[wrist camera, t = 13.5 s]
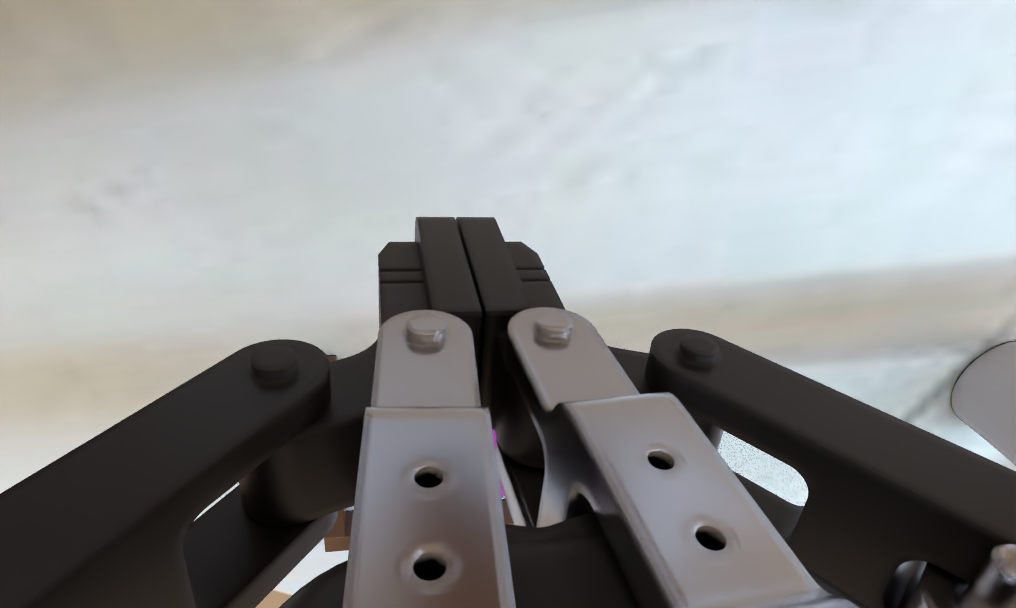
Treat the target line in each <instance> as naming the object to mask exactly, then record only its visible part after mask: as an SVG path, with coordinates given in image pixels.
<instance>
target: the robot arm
mask: <svg viewBox="0 0 1016 608" xmlns="http://www.w3.org/2000/svg"><path fill="white" fill-rule="evenodd" d="M378 266H379V332H378V339H377V340H376V342H375V343H374V344H373V345H372V346H370V347H369V348H367V349H366V350H364V351H362V352H360V353H359V354H356V355H353V356H351V357H347V358H344V359H340V360H336V361H332V362H329V360H328V358H327V356H326V354H325V353H324V352H323V351H322V350H320V349H319V348H318V347H316V346H314V345H312V344H309V343H306V342H302V341H297V340H269V341H264V342H259V343H256V344H252V345H250V346H247V347H245V348H243V349H241V350H239V351H237V352H235V353H233V354H232V355H230V356H229V357H227V358H225V359H224V360H222V361H220V362H219V363H217V364H215V365H214V366H212V367H210V368H209V369H207V370H205V371H204V372H202V373H200V374H199V375H197V376H195V377H194V378H192V379H190V380H189V381H187V382H185V383H184V384H182V385H180V386H179V387H177V388H175V389H174V390H172V391H170V392H169V393H167V394H165V395H164V396H162V397H160V398H159V399H157V400H155V401H154V402H152V403H150V404H149V405H147V406H145V407H144V408H142V409H140V410H139V411H137V412H135V413H134V414H132V415H130V416H129V417H127V418H125V419H124V420H122V421H120V422H119V423H117V424H115V425H114V426H112V427H110V428H109V429H107V430H106V431H104V432H102V433H101V434H99V435H97V436H96V437H94V438H92V439H91V440H89V441H87V442H86V443H84V444H82V445H81V446H79V447H77V448H76V449H74V450H72V451H71V452H69V453H67V454H66V455H64V456H62V457H61V458H59V459H57V460H56V461H54V462H52V463H51V464H49V465H47V466H46V467H44V468H42V469H41V470H39V471H37V472H36V473H34V474H32V475H31V476H29V477H27V478H26V479H24V480H22V481H21V482H19V483H17V484H16V485H14V486H12V487H11V488H9V489H7V490H6V491H4V492H2V493H1V494H0V608H255V607H256V606H257V605H258V604H259V603H260V602H261V601H262V600H263V599H264V598H265V597H266V596H267V595H268V594H269V593H270V592H271V591H272V590H273V589H274V588H275V587H276V586H277V585H278V584H279V583H280V582H281V581H282V580H283V579H284V578H285V577H286V576H287V575H288V574H289V572H290V571H291V570H292V569H293V568H294V567H295V566H296V565H297V564H298V563H299V562H300V561H301V560H302V559H303V558H304V557H305V556H306V555H307V554H308V553H309V552H310V551H311V550H312V549H313V548H314V547H315V546H316V545H317V544H318V543H319V542H320V541H321V540H322V539H323V538H324V537H325V536H326V535H327V534H328V532H329V531H330V530H331V529H332V527H333V526H334V524H335V522H336V519H337V516H338V511H339V510H342V509H345V508H348V507H351V506H354V511H353V519H352V528H351V537H350V546H349V554H348V560H347V561H345V562H343V563H341V564H338V565H336V566H334V567H333V568H331V569H329V570H327V571H326V572H324V573H322V574H320V575H319V576H317V577H316V578H314V579H313V580H312V581H310V582H309V583H307V584H306V585H305V586H303V587H302V588H300V589H299V590H298V591H297V592H296V593H295V594H294V595H292V596H291V597H290V598H289V599H288V600H287V601H286V602H285V603H283V604H282V606H280V607H279V608H1016V471H1013V470H1011V469H1009V468H1007V467H1004V466H1002V465H1000V464H998V463H996V462H993V461H991V460H989V459H987V458H985V457H982V456H980V455H978V454H976V453H973V452H971V451H969V450H967V449H965V448H962V447H960V446H958V445H956V444H954V443H951V442H949V441H947V440H945V439H942V438H940V437H938V436H936V435H934V434H931V433H929V432H927V431H925V430H923V429H920V428H918V427H916V426H914V425H912V424H909V423H907V422H905V421H903V420H900V419H898V418H896V417H894V416H892V415H889V414H887V413H885V412H883V411H881V410H878V409H876V408H874V407H872V406H869V405H867V404H865V403H863V402H861V401H858V400H856V399H854V398H852V397H850V396H847V395H845V394H843V393H841V392H838V391H836V390H834V389H832V388H830V387H827V386H825V385H823V384H821V383H819V382H816V381H814V380H812V379H810V378H807V377H805V376H803V375H801V374H799V373H796V372H794V371H792V370H790V369H788V368H785V367H783V366H781V365H779V364H777V363H774V362H772V361H770V360H768V359H765V358H763V357H761V356H759V355H757V354H754V353H752V352H750V351H748V350H746V349H743V348H741V347H739V346H737V345H734V344H732V343H730V342H728V341H726V340H723V339H721V338H719V337H717V336H714V335H712V334H709V333H705V332H702V331H697V330H691V329H672V330H667V331H664V332H661V333H659V334H658V335H656V336H655V337H654V339H653V340H652V343H651V347H650V351H649V353H643V352H637V351H631V350H625V349H619V348H614V347H610V346H607V345H606V343H605V342H604V340H603V339H602V338H601V336H600V335H599V333H598V332H597V330H596V329H595V327H594V326H593V325H592V324H591V323H590V322H589V321H588V320H587V319H585V318H583V317H582V316H580V315H578V314H576V313H573V312H570V311H567V310H565V308H564V306H563V304H562V302H561V300H560V298H559V296H558V294H557V292H556V290H555V288H554V286H553V284H552V282H551V281H550V278H549V276H548V274H547V272H546V270H544V266H543V264H542V262H541V260H540V258H539V256H538V254H537V253H536V252H534V251H533V250H532V249H530V248H529V247H528V246H526V245H525V244H523V243H522V242H505V241H504V239H503V236H502V234H501V232H500V229H499V227H498V224H497V222H496V220H495V218H494V217H457V218H456V221H455V218H454V217H416V222H415V242H389V243H388V244H387V245H386V246H385V247H384V249H383V250H382V251H381V252H380V253H379V254H378ZM492 430H495V434H496V448H495V447H494V440H493V432H492ZM723 431H726V432H728V433H729V434H731V435H733V436H735V437H737V438H739V439H741V440H743V441H745V442H746V443H748V444H750V445H752V446H754V447H756V448H758V449H760V450H761V451H763V452H765V453H767V454H769V455H771V456H773V457H775V458H777V459H778V460H780V461H782V462H784V463H786V464H788V465H790V466H791V467H793V468H794V469H795V470H797V471H798V472H799V473H800V474H801V476H802V477H803V478H804V480H805V482H806V484H807V487H808V499H807V501H806V503H805V506H797V505H794V504H791V503H789V502H787V501H785V500H784V499H782V498H780V497H778V496H777V495H775V494H773V493H771V492H769V491H768V490H766V489H764V488H762V487H761V486H759V485H757V484H755V483H753V482H752V481H750V480H748V479H746V478H745V477H743V476H741V475H739V474H737V473H736V472H734V471H732V470H731V469H730V467H729V466H728V465H727V463H726V462H725V461H724V459H723V458H722V457H721V455H720V454H719V453H718V451H717V450H718V447H719V444H720V440H721V437H722V434H723ZM499 481H500V484H501V487H502V489H503V492H504V495H505V498H506V501H507V504H508V507H509V510H510V513H511V516H512V519H513V522H514V525H511V524H505V522H504V514H503V507H502V499H501V492H500V485H499ZM238 482H239V485H238V486H237V487H236V488H235V489H233V490H232V491H231V492H230V493H229V494H227V495H226V496H225V497H224V498H222V499H221V500H220V501H219V502H217V503H216V504H215V505H214V506H212V507H211V508H210V509H209V510H207V511H206V512H205V513H204V514H202V515H201V516H200V517H199V518H198V519H196V517H197V516H198V515H199V514H200V513H201V512H202V511H203V510H204V509H205V508H206V507H208V506H209V505H210V504H211V503H213V502H214V501H215V500H216V499H218V498H219V497H220V496H221V495H223V494H224V493H225V492H226V491H228V490H229V489H230V488H231V487H233V486H234V485H235V484H236V483H238ZM195 519H196V520H195ZM194 520H195V521H194ZM193 521H194V522H193Z"/></svg>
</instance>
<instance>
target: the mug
mask: <svg viewBox="0 0 1016 608" xmlns="http://www.w3.org/2000/svg"><path fill="white" fill-rule="evenodd" d="M951 401H952V407H953V410H954V412H955V413H956V415H957V416H958V417H959V418H960V419H961V420H962V421H963V422H964V423H966V424H967V425H968V426H969V427H970V428H972V429H973V430H974V431H975V432H977V433H978V434H979V435H980V436H981V437H983V438H984V439H985V440H986V441H987V442H989V443H990V444H991V445H992V446H993V447H995V448H996V449H997V450H998V451H999V452H1000V453H1002V454H1003V455H1004V456H1005V457H1006V458H1007V459H1009V460H1010V461H1011V462H1012V463H1013V464H1014V465H1016V341H1014V342H1009V343H1005V344H1002V345H1000V346H997V347H995V348H993V349H991V350H989V351H987V352H986V353H984V354H983V355H981V356H980V357H979V358H977V359H976V360H975V361H974V362H973V363H972V364H970V365H969V366H968V368H967V369H966V370H965V371H964V372H963V373H962V375H961V376H960V378H959V379H958V381H957V383H956V384H955V387H954V389H953V392H952V399H951Z"/></svg>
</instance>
